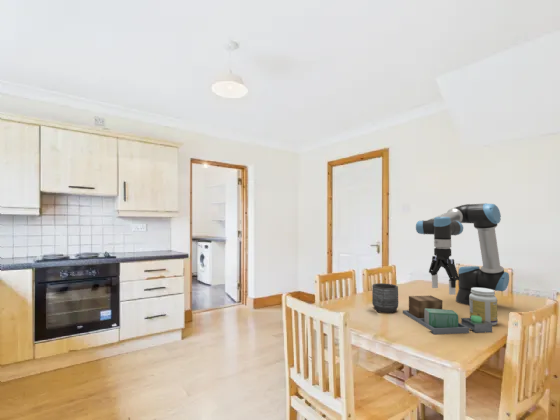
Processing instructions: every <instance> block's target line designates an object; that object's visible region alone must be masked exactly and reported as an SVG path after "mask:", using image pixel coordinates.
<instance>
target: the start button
mask: <svg viewBox="0 0 560 420" xmlns="http://www.w3.org/2000/svg"><path fill="white" fill-rule="evenodd" d="M471 321H473V322H475V323H482V317H480V316H476V315H471Z"/></svg>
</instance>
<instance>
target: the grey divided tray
mask: <svg viewBox="0 0 560 420" xmlns="http://www.w3.org/2000/svg"><path fill="white" fill-rule="evenodd" d="M402 314H404V315H405V316H407V317H408V318H410V319H412V320H413V321H415V322H416V323H418V324H420V325H422V326H423V327H424V328H426V329H428V330H430V331H429V332H430V333H431V334H432V335H450V334H451V335H452V334H470V328H469V327H467V326H465V325H463V324H461V322H459V323H458V327H452V328H438V327H432V326H430V325H429V324H427V323H425V322H424V318H417V317H415V316H413V315H412V314H410V313H409V309H405V310H402Z"/></svg>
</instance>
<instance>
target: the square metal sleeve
mask: <svg viewBox="0 0 560 420" xmlns="http://www.w3.org/2000/svg"><path fill="white" fill-rule="evenodd" d="M460 321H461V322H460V323H461V324H463V325H465V326H467V327H469V332H472V333H474V334H479V333H481V334H482V333H485V332H486V333H493V326H492V323H489V322H487V321H485V320H482V323H475V322H473V321H471V318H470V317H461V319H460ZM486 333H485V334H486Z"/></svg>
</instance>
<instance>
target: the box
mask: <svg viewBox="0 0 560 420" xmlns="http://www.w3.org/2000/svg"><path fill="white" fill-rule="evenodd" d="M424 322H425V323H427V324H429V325H430V326H432V327H438V328H452V327H458V323H460V322H459V315H458V313H457V312H456V311H454V310H453V309H443V308H442V309H427V308H425V309H424Z"/></svg>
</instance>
